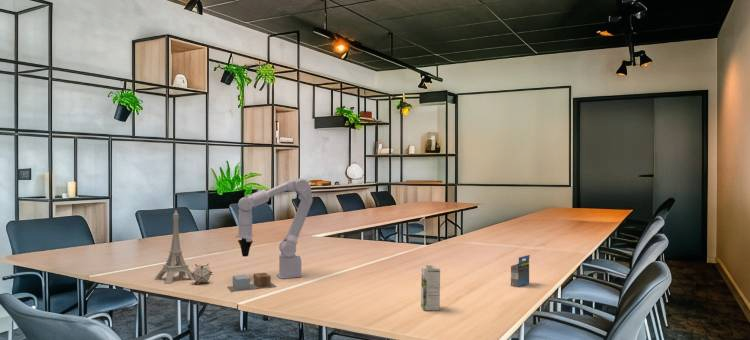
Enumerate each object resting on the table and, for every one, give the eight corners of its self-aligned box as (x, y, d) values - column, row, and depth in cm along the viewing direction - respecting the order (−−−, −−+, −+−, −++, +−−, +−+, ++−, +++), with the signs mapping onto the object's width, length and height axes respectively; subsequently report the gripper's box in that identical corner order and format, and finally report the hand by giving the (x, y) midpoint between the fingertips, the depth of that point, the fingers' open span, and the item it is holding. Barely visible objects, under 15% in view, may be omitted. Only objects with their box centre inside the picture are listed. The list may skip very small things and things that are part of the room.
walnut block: (265, 272, 213) (270, 276, 206) (265, 282, 213) (270, 286, 206) (253, 273, 211) (258, 277, 204) (253, 283, 211) (258, 287, 204)
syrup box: (420, 306, 178) (420, 265, 178) (437, 306, 179) (437, 265, 179) (423, 311, 173) (423, 268, 173) (440, 310, 173) (440, 268, 173)
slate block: (245, 274, 209) (249, 278, 202) (245, 284, 209) (249, 288, 202) (232, 275, 207) (236, 279, 200) (232, 285, 207) (236, 289, 200)
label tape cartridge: (521, 282, 216) (521, 253, 216) (529, 284, 213) (529, 254, 213) (510, 286, 210) (510, 256, 210) (518, 287, 207) (519, 257, 207)
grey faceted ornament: (203, 293, 211) (203, 276, 205) (186, 284, 212) (186, 268, 206) (216, 278, 218) (217, 262, 212) (200, 270, 219) (199, 254, 214)
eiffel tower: (184, 274, 229) (184, 208, 229) (197, 279, 220) (197, 210, 219) (153, 279, 220) (154, 210, 220) (166, 284, 210) (166, 212, 210)
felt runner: (270, 282, 213) (270, 282, 213) (276, 286, 206) (276, 286, 206) (227, 287, 205) (227, 286, 205) (231, 291, 198) (231, 290, 198)
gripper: (232, 223, 225) (232, 254, 225) (239, 227, 212) (239, 259, 212) (248, 222, 228) (248, 253, 228) (256, 226, 215) (256, 258, 215)
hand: (245, 256), depth 220 cm, fingers closed
